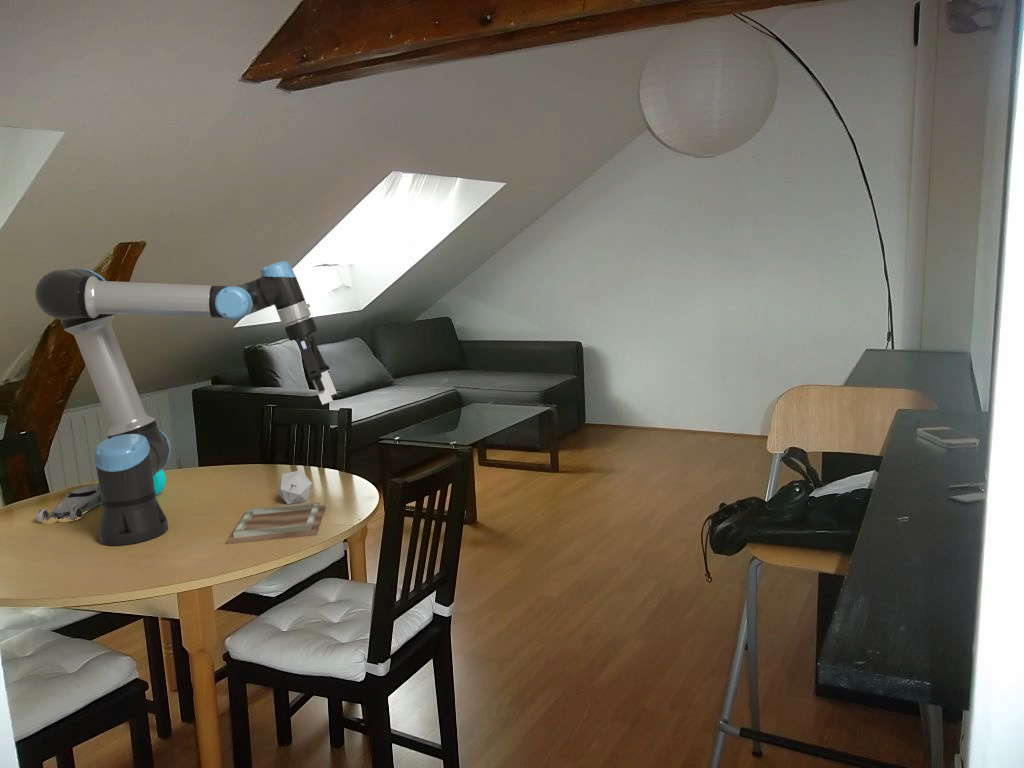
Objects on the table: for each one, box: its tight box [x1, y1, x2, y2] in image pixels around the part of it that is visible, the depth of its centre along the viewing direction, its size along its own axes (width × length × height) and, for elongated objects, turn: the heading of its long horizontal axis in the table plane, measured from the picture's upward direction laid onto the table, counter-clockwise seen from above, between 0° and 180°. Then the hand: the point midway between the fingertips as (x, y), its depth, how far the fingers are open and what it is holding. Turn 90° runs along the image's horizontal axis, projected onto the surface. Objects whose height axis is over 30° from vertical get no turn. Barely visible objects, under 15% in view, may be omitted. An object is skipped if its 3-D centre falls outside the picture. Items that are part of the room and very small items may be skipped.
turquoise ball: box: [153, 469, 167, 496], centre depth 220 cm, size 10×10×10 cm
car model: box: [35, 484, 102, 523], centre depth 217 cm, size 11×24×5 cm, turn 1°
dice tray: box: [226, 501, 327, 545], centre depth 193 cm, size 20×20×2 cm
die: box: [277, 470, 313, 505], centre depth 211 cm, size 8×9×10 cm
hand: (329, 398), depth 207 cm, fingers open, 13 cm apart
